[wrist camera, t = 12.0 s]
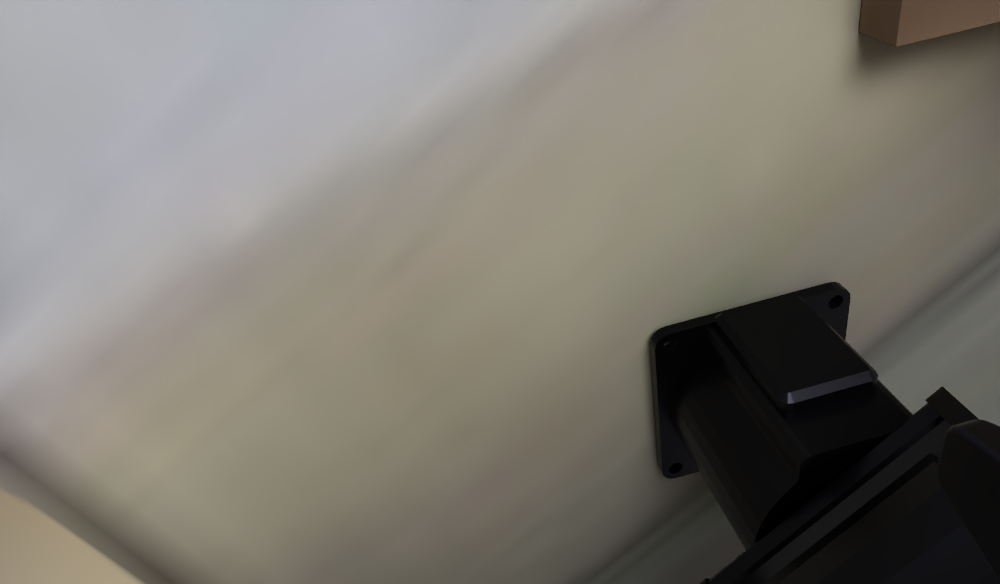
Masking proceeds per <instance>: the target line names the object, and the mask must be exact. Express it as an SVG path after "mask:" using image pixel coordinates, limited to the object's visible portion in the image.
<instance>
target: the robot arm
mask: <svg viewBox="0 0 1000 584" xmlns="http://www.w3.org/2000/svg"><path fill="white" fill-rule="evenodd" d="M834 296H835V297H834ZM832 297H834V298H833V299H832V300H830V299H831V298H832ZM829 300H830V301H829ZM849 305H850V293H849V292H848V291H847V290H846V289H845V288H844V287H843V286H842V285H841V284H840V283H837V282H829V283H826V284H822V285H818V286H815V287H811V288H807V289H803V290H800V291H796V292H792V293H789V294H785V295H781V296H777V297H774V298H770V299H766V300H762V301H759V302H755V303H751V304H748V305H744V306H740V307H736V308H733V309H729V310H725V311H721V312H718V313H714V314H710V315H707V316H703V317H699V318H695V319H692V320H688V321H684V322H680V323H677V324H673V325H669V326H666V327H663V328H661V329H659V330H657V331H656V332H655V333H654V334H653V336H652V337H651V341H650V350H651V366H652V381H653V396H654V411H655V427H656V442H657V457H658V465H659V468H660V470H661V472H662V473H663V475H664V476H665V477H666V478H677V477H681V476H684V475H688V474H691V473H695V472H698V471H700V473H701V475H702V476H703V478H704V480H705V481H706V483H707V485H708V487H709V488H710V490H711V492H712V493H713V495H714V497H715V498H716V500H717V502H718V504H719V505H720V507H721V509H722V510H723V512H724V514H725V515H726V517H727V519H728V520H729V522H730V524H731V526H732V527H733V529H734V531H735V532H736V534H737V536H738V537H739V539H740V541H741V543H742V544H743V546H744V548H745V549H746V551H745V552H743V553H742V554H741V555H740V556H738V557H737V558H736V559H735V560H733V561H732V562H731V563H730V564H729V565H727V566H726V567H725V568H724V569H722V570H721V571H720V572H719V573H717V574H716V575H715V576H714V577H712V578H711V579H707V578H706V579H705V580H703V581H702V582H701V583H700V584H1000V426H997V425H995V424H993V423H990V422H988V421H984V420H979V419H978V418H977V417H976V416H975V415H974V414H972V413H971V412H970V411H969V410H968V409H967V408H966V407H965V406H964V405H962V404H961V403H960V402H959V401H958V400H957V399H956V398H955V397H954V396H952V395H951V394H950V393H949V392H948V391H947V390H946V389H945V388H944V387H941V388H940V389H938V390H937V391H936V392H935V393H933V394H932V395H931V396H930V397H929V398H927V399H926V401H927V402H928V403H927V404H926V405H925V406H923V407H922V408H921V409H920V410H919V411H917V412H916V413H915V414H914V415H913V414H912V413H911V412H910V411H909V410H908V409H907V408H906V407H905V406H904V405H903V404H902V403H901V402H900V401H899V400H898V399H897V398H896V397H895V396H894V395H893V394H892V393H891V392H890V391H889V390H888V389H887V388H886V387H885V386H884V385H883V384H882V383H881V382H880V381H879V380H878V379H877V378H878V374H877V372H876V371H875V370H874V369H873V368H872V367H871V366H870V365H869V364H868V363H867V362H866V361H865V360H864V359H863V358H862V357H861V356H860V355H859V354H858V353H857V352H856V351H855V350H854V349H853V348H852V347H851V346H850V345H849V344H848V343H847V342H846V341H845V337H846V329H847V321H848V313H849ZM670 340H672V341H671V343H670V344H668V345H666V346H663V345H664V344H665V343H666V342H667V341H670Z"/></svg>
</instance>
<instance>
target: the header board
mask: <svg viewBox="0 0 1000 584" xmlns="http://www.w3.org/2000/svg"><path fill="white" fill-rule="evenodd" d="M996 22H1000V0H862V8H861V18H860V27H859V32H860V33H863V34H865V35H868V36H870V37H873V38H875V39H878V40H880V41H883V42H885V43H888V44H890V45H893V46H895V47H897V46H901V45H906V44H910V43H914V42H918V41H922V40H926V39H930V38H934V37H939V36H943V35H947V34H951V33H955V32H959V31H963V30H967V29H972V28H976V27H980V26H984V25H988V24H992V23H996Z"/></svg>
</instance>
